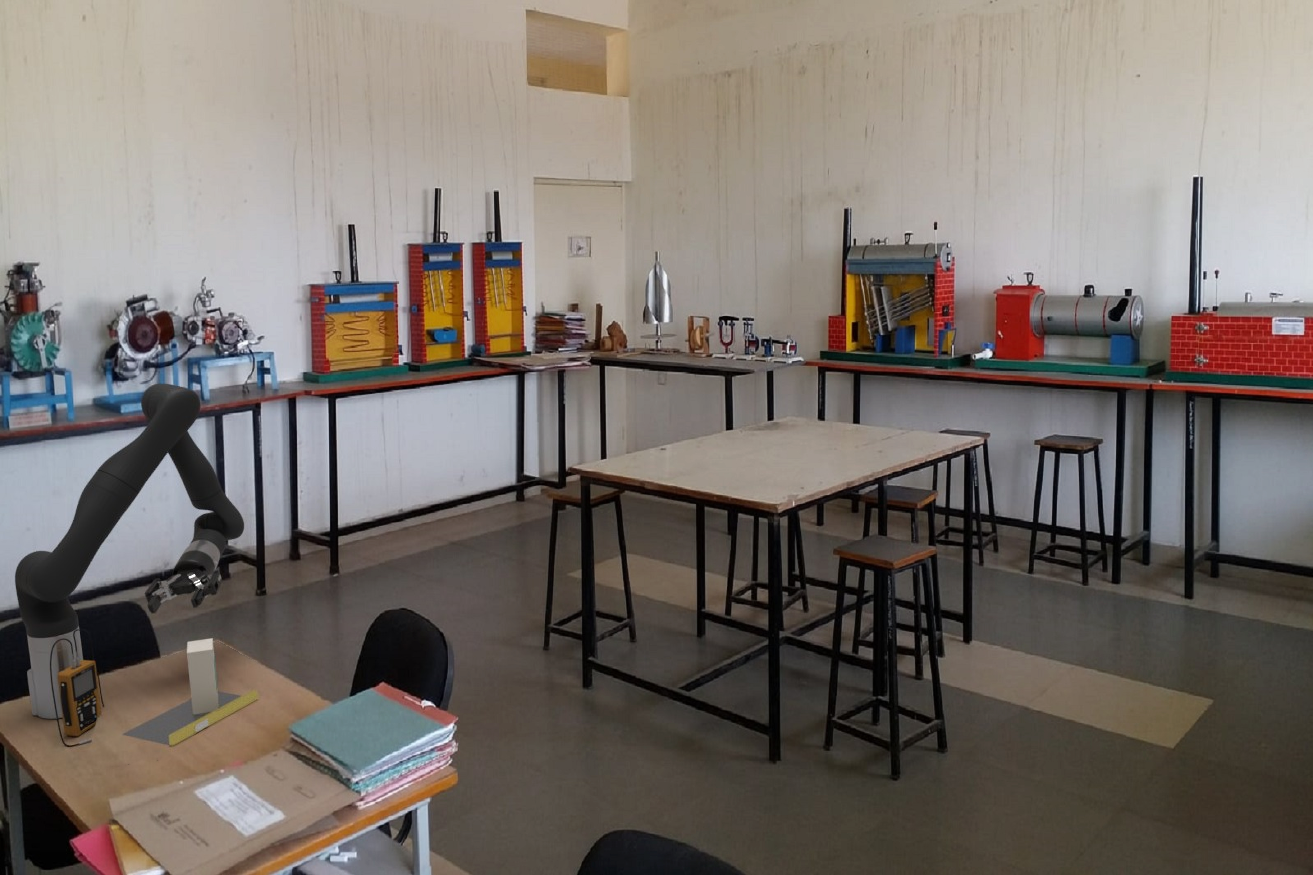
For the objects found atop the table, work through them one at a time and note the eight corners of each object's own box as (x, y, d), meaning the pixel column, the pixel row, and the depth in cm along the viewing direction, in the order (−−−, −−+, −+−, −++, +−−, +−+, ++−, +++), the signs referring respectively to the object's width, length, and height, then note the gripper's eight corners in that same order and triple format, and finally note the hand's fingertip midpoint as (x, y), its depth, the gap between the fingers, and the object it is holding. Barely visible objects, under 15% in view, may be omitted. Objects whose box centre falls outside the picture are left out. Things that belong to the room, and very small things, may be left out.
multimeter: (96, 750, 202) (84, 650, 199) (50, 745, 204) (37, 646, 201) (147, 716, 217) (136, 622, 213) (103, 712, 219) (92, 619, 215)
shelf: (122, 741, 206) (120, 724, 205) (210, 696, 225) (208, 680, 225) (174, 753, 201) (172, 736, 200) (259, 706, 220) (257, 690, 220)
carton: (193, 714, 213) (186, 653, 211) (193, 701, 219) (187, 641, 217) (219, 710, 215) (213, 649, 213) (218, 697, 221) (213, 638, 219)
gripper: (158, 554, 230) (131, 596, 215) (225, 545, 230) (202, 586, 215) (169, 583, 233) (143, 627, 218) (235, 574, 233) (213, 617, 219)
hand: (172, 607), depth 217 cm, fingers open, 8 cm apart
